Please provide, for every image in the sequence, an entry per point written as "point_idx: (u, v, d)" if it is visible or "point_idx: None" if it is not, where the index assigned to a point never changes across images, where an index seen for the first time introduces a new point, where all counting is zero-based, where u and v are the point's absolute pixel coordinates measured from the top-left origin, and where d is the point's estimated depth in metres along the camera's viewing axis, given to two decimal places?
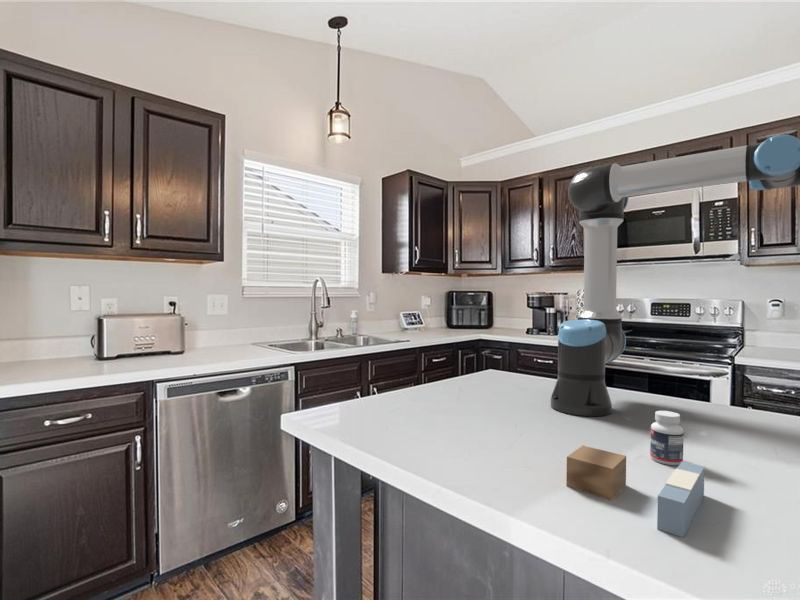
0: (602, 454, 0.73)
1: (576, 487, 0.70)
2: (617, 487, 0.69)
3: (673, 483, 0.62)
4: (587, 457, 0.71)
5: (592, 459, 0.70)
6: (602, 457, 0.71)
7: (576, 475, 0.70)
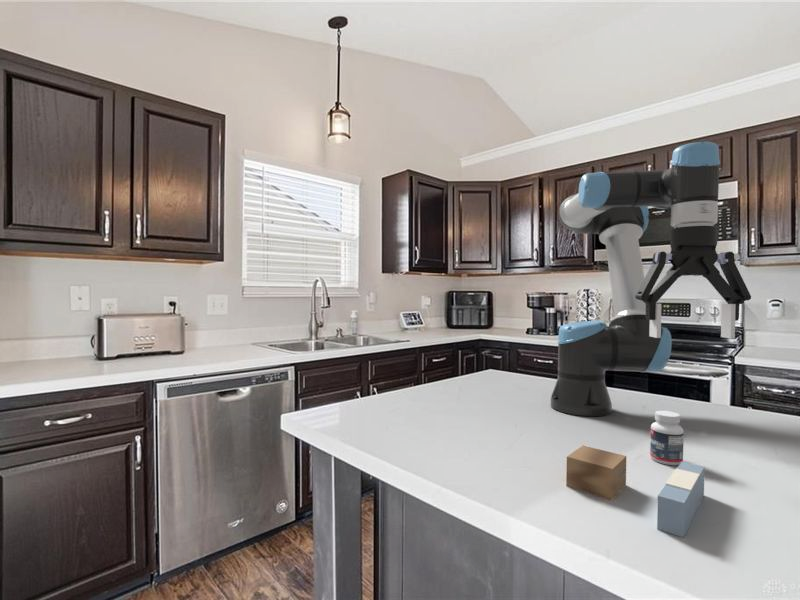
0: (602, 454, 0.73)
1: (576, 487, 0.70)
2: (617, 487, 0.69)
3: (673, 483, 0.62)
4: (587, 457, 0.71)
5: (592, 459, 0.70)
6: (602, 457, 0.71)
7: (576, 475, 0.70)
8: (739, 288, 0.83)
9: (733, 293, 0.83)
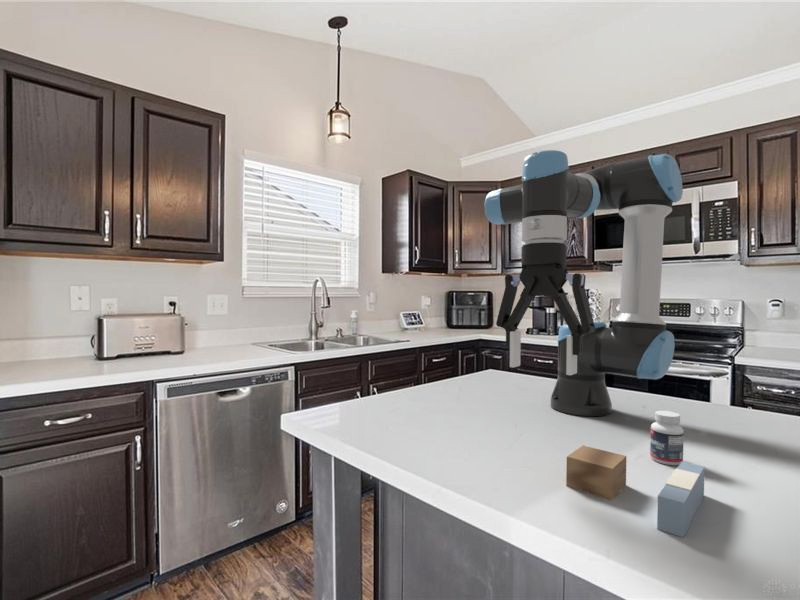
0: (602, 454, 0.73)
1: (576, 487, 0.70)
2: (617, 487, 0.69)
3: (673, 483, 0.62)
4: (587, 457, 0.71)
5: (592, 459, 0.70)
6: (602, 457, 0.71)
7: (576, 475, 0.70)
8: (580, 317, 0.72)
9: (571, 323, 0.73)
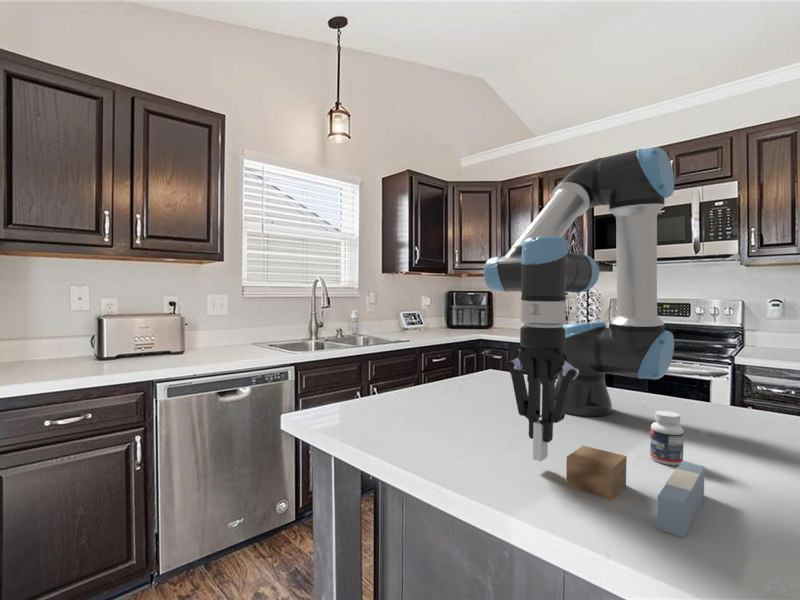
0: (602, 454, 0.73)
1: (576, 487, 0.70)
2: (617, 487, 0.69)
3: (673, 483, 0.62)
4: (587, 457, 0.71)
5: (592, 459, 0.70)
6: (602, 457, 0.71)
7: (576, 475, 0.70)
8: None
9: (546, 411, 0.76)
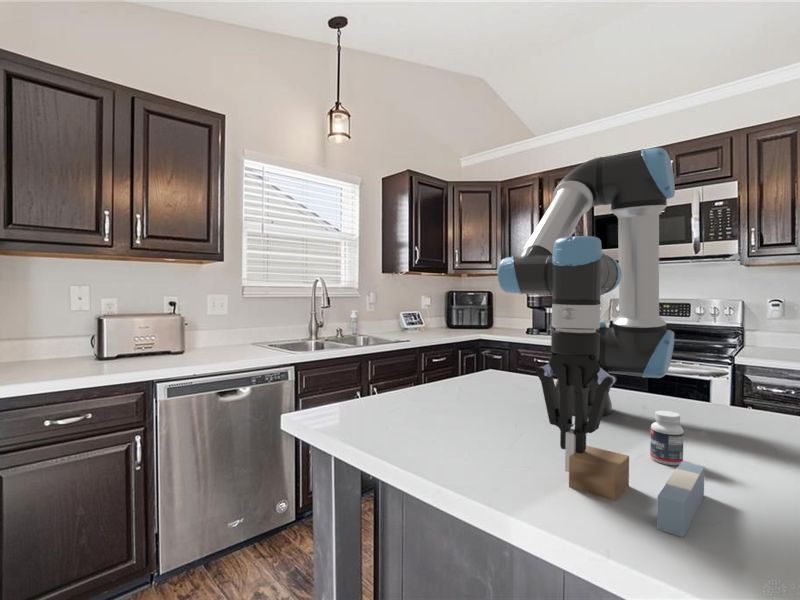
0: (605, 454, 0.72)
1: (579, 487, 0.70)
2: (620, 487, 0.68)
3: (673, 483, 0.62)
4: (590, 457, 0.71)
5: (594, 459, 0.70)
6: (605, 457, 0.71)
7: (579, 475, 0.70)
8: None
9: (579, 421, 0.72)
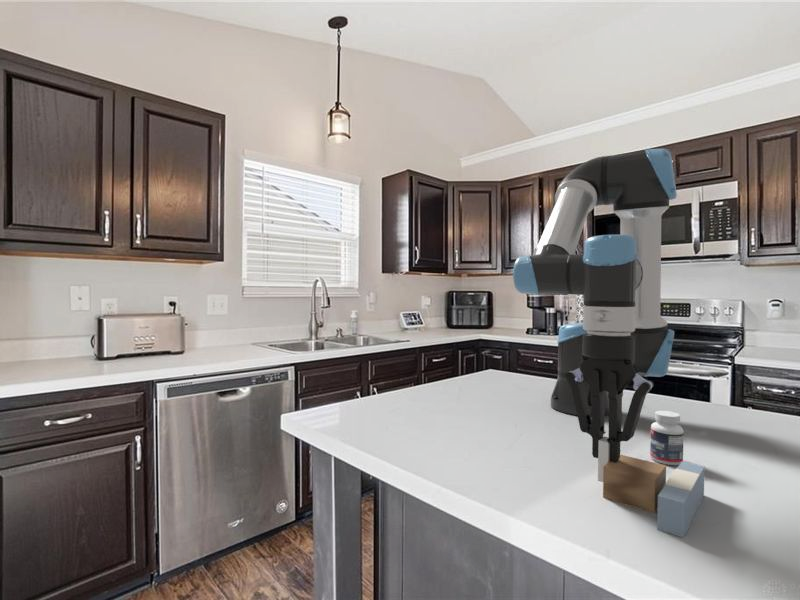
0: (640, 463, 0.69)
1: (614, 499, 0.67)
2: None
3: (673, 483, 0.62)
4: (626, 467, 0.67)
5: (631, 469, 0.66)
6: (641, 467, 0.67)
7: (614, 486, 0.67)
8: (625, 422, 0.68)
9: (613, 428, 0.69)
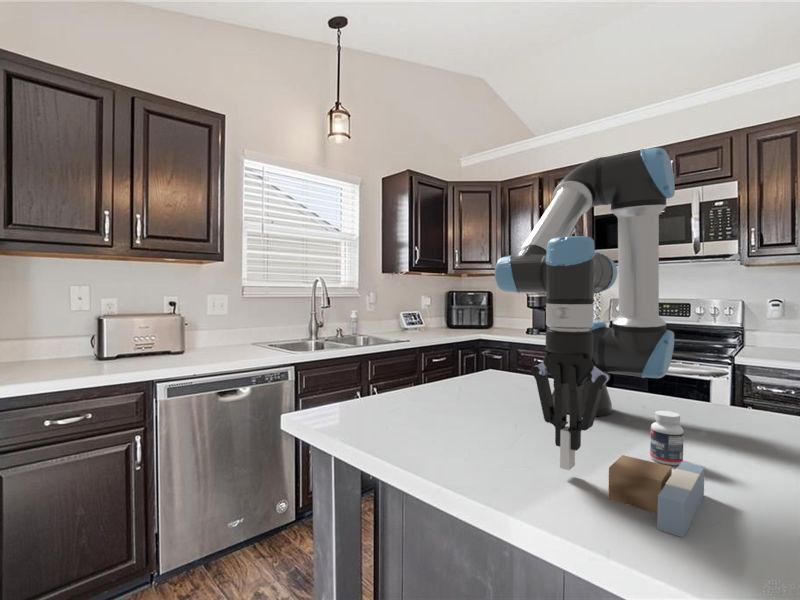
0: (646, 464, 0.68)
1: (619, 500, 0.66)
2: None
3: (673, 483, 0.62)
4: (631, 468, 0.67)
5: (636, 471, 0.66)
6: (646, 468, 0.67)
7: (620, 488, 0.66)
8: (584, 413, 0.72)
9: (574, 418, 0.73)
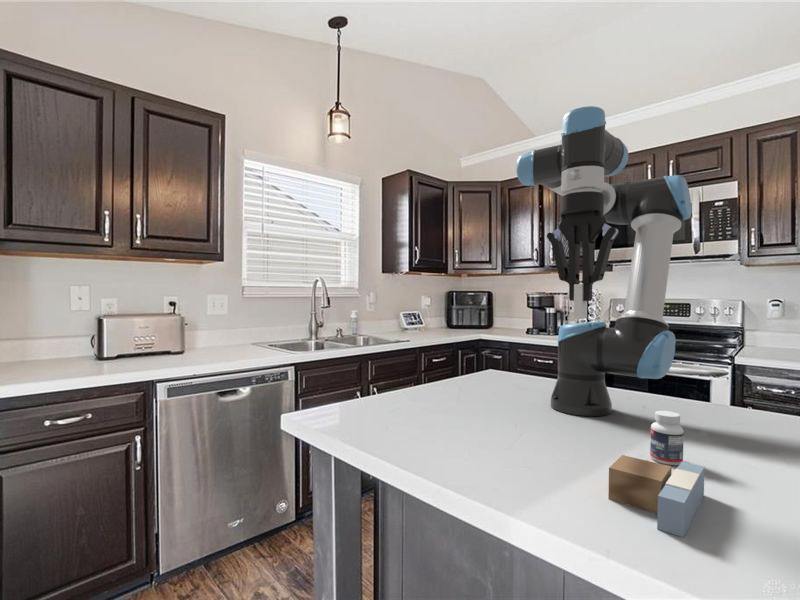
0: (646, 464, 0.68)
1: (619, 500, 0.66)
2: None
3: (673, 483, 0.62)
4: (631, 468, 0.67)
5: (636, 471, 0.66)
6: (646, 468, 0.67)
7: (620, 488, 0.66)
8: (595, 265, 0.81)
9: (586, 271, 0.82)
